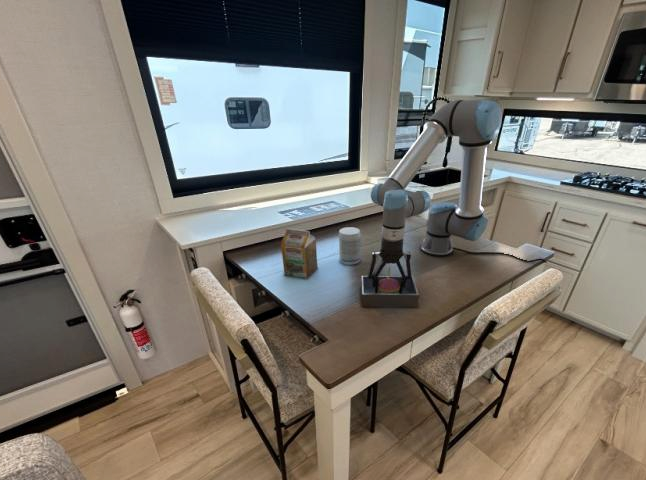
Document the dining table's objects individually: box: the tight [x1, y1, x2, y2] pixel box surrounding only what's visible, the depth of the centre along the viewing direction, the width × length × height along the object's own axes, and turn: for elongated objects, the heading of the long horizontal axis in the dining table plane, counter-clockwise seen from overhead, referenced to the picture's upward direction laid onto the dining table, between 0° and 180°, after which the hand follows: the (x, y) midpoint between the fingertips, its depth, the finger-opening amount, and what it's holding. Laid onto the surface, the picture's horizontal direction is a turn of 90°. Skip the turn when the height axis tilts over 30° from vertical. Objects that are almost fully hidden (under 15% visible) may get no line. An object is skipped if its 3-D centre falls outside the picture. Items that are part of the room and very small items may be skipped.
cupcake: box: [378, 265, 400, 294], centre depth 119 cm, size 9×8×12 cm
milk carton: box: [280, 228, 318, 280], centre depth 134 cm, size 11×11×19 cm
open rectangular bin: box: [360, 275, 420, 308], centre depth 121 cm, size 20×14×5 cm
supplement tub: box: [338, 226, 361, 266], centre depth 145 cm, size 10×10×15 cm
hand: (388, 293), depth 122 cm, fingers closed on cupcake, 8 cm apart
